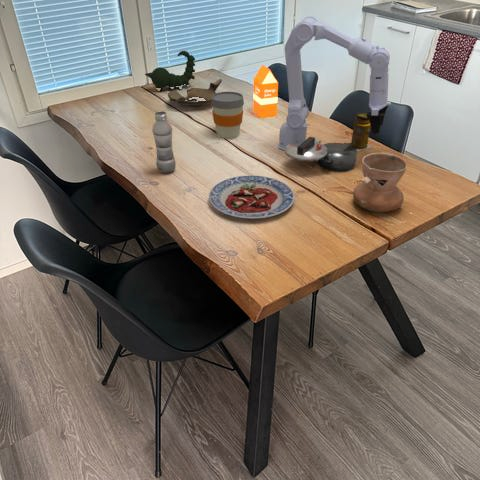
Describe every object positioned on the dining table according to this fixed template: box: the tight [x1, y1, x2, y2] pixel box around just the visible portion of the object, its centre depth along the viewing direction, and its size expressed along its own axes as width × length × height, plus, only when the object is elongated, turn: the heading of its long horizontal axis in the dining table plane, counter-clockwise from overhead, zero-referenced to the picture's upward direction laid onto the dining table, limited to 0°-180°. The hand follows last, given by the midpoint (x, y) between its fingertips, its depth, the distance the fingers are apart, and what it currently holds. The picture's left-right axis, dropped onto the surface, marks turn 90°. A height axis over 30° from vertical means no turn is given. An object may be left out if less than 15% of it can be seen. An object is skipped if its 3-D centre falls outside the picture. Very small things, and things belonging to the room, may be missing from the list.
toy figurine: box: [144, 50, 196, 89], centre depth 224 cm, size 9×19×25 cm
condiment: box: [348, 112, 373, 152], centre depth 168 cm, size 7×8×12 cm
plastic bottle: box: [152, 110, 177, 174], centre depth 149 cm, size 6×7×20 cm
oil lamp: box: [167, 78, 223, 107], centre depth 210 cm, size 22×30×8 cm
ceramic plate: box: [208, 175, 296, 220], centre depth 138 cm, size 26×26×3 cm
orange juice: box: [252, 64, 279, 119], centre depth 194 cm, size 8×9×20 cm
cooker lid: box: [285, 136, 327, 162], centre depth 154 cm, size 16×14×4 cm
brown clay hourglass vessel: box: [352, 152, 408, 213], centre depth 133 cm, size 18×14×14 cm
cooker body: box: [316, 142, 358, 173], centre depth 159 cm, size 16×18×5 cm
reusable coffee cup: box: [210, 91, 245, 139], centre depth 177 cm, size 13×13×15 cm
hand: (377, 129), depth 156 cm, fingers open, 7 cm apart
